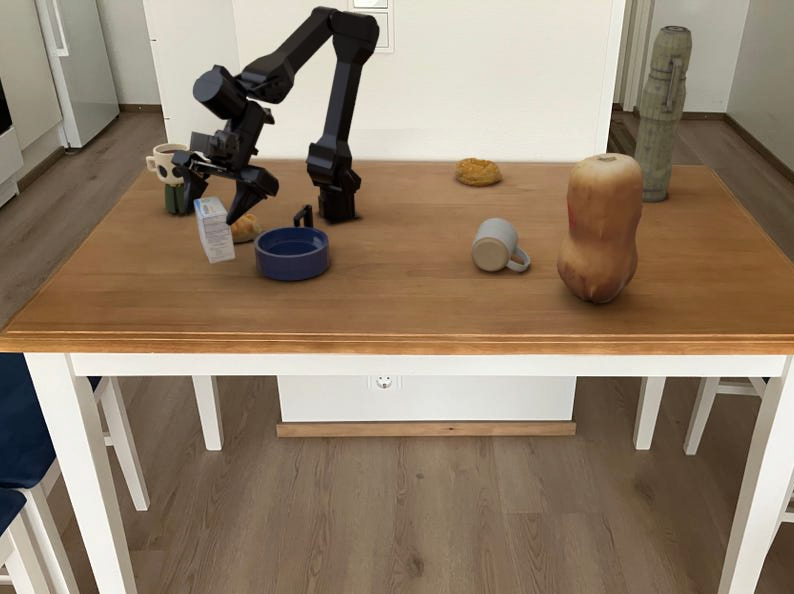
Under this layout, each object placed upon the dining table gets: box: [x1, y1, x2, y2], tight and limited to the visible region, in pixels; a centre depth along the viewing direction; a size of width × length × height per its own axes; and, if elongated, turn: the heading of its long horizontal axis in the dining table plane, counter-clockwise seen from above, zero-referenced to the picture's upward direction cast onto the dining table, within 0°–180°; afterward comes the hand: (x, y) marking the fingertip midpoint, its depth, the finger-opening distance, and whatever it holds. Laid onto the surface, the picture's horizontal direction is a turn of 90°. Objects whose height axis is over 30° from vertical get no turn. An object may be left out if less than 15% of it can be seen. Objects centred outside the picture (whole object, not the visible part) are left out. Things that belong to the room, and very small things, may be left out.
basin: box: [253, 225, 331, 282], centre depth 140 cm, size 13×13×5 cm
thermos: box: [633, 25, 693, 203], centre depth 165 cm, size 9×12×35 cm
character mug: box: [145, 142, 195, 214], centre depth 157 cm, size 11×7×13 cm, turn 90°
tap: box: [292, 203, 315, 228], centre depth 143 cm, size 7×4×9 cm, turn 166°
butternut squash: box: [556, 152, 644, 304], centre depth 127 cm, size 14×13×25 cm
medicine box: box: [194, 195, 236, 264], centre depth 131 cm, size 8×4×9 cm, turn 25°
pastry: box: [230, 213, 263, 244], centre depth 149 cm, size 9×7×4 cm
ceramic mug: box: [470, 217, 531, 272], centre depth 141 cm, size 11×8×8 cm
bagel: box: [453, 157, 503, 187], centre depth 178 cm, size 10×11×5 cm
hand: (206, 219), depth 129 cm, fingers closed on medicine box, 8 cm apart
